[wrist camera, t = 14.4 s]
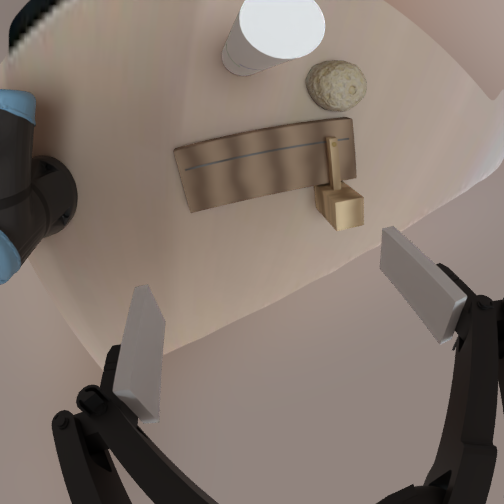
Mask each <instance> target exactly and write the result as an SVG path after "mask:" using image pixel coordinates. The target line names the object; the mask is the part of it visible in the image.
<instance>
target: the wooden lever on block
mask: <svg viewBox="0 0 504 504" xmlns="http://www.w3.org/2000/svg"><path fill="white" fill-rule="evenodd" d="M326 142H327V152H328V162H329V173H330V183H326V184H320V185H315V186H314V191H315V201H316V208H317V209H318V210H319V212H320V213H321V214H322V215H323V216H324V217H325V218H326V219H327V221H328V222H329V223H330V224H331V225H332V226H333V228H334V229H335V230H336V231H340V230H344V229H348V228H353V227H357V226H361V225H364V197H363V196H361V195H360V194H359V193H357V192H356V191H355V190H353V189H352V188H351V187H349V186H348V185H347V184H345V183H344V182H342V181H341V177H340V163H339V151H338V141H337V138H336V137H334V136H333V137H326Z"/></svg>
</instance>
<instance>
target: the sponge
mask: <svg viewBox="0 0 504 504" xmlns="http://www.w3.org/2000/svg"><path fill="white" fill-rule="evenodd" d="M366 83H367V82H366V79H365V77H364V75H363V73H362V72H361V70H360V69H359V67H357V66H356V65H354V64H351V63H349V62H346V61H325V62H323V63H321V64H317V65H315V66H313V68H312V69H311V70H310V72H309V74H308V76H307V78H306V85H307V88H308V91H309V93H310V95H311V97H312V98H313V100H314V101H315V102H316V103H317V104H318V105H320V106H321V107H323V108H324V109H327V110H330V111H332V110H333V111H347V110H349V109H351V108H352V107H354V106H355V105H357V104H358V103H359V102H360V101H361V100H362V98H364V96H365V94H366Z"/></svg>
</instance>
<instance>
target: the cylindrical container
mask: <svg viewBox="0 0 504 504" xmlns="http://www.w3.org/2000/svg"><path fill="white" fill-rule="evenodd" d="M324 32H325V19H324V16H323V13H322V11H321V9H320V8H319V6H318V5H317V3H316V2H315V1H314V0H245V2H244V3H243V5H242V7H241V9H240V11H239V13H238V16H237V18H236V20H235V22H234V25H233V27H232V29H231V31H230V34H229V36H228V38H227V41H226V43H225V45H224V48H223V50H222V61H223V64H224V66H225V67H226V68H227V69H228V70H229V71H230V72H231V73H233V74H235V75H239V76H249V75H253V74H255V73H258V72H260V71H263V70H265V69H268V68H271V67H273V66H276V65H279V64H282V63H285V62H287V61H290V60H293V59H296V58H299V57H302V56H304V55H307V54H309V53H310V52H312V51H313V50H314V49H315V48H316V47H317V46H318V45H319V44H320V42H321V41H322V39H323V36H324Z"/></svg>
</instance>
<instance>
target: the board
mask: <svg viewBox="0 0 504 504" xmlns="http://www.w3.org/2000/svg"><path fill="white" fill-rule="evenodd" d="M333 136H334V137H336V138H337V141H338V151H339V163H340V177H341V181H342V180H348V179H353V178H356V160H355V145H354V133H353V122H352V119H351V118H347V117H343V118H333V119H324V120H316V121H308V122H301V123H294V124H287V125H281V126H275V127H269V128H264V129H258V130H253V131H248V132H243V133H238V134H233V135H228V136H224V137H219V138H215V139H210V140H206V141H202V142H198V143H194V144H190V145H186V146H182V147H179V148H175V150H174V154H175V158H176V162H177V166H178V169H179V173H180V177H181V180H182V184H183V187H184V191H185V195H186V198H187V202H188V205H189V209H190V212H191V213H193V212H197V211H201V210H205V209H209V208H214V207H218V206H222V205H226V204H230V203H235V202H239V201H244V200H248V199H252V198H257V197H262V196H266V195H271V194H276V193H280V192H285V191H290V190H295V189H300V188H305V187H310V186H315V185H320V184H326V183H330V173H329V162H328V152H327V142H326V137H333Z"/></svg>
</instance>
